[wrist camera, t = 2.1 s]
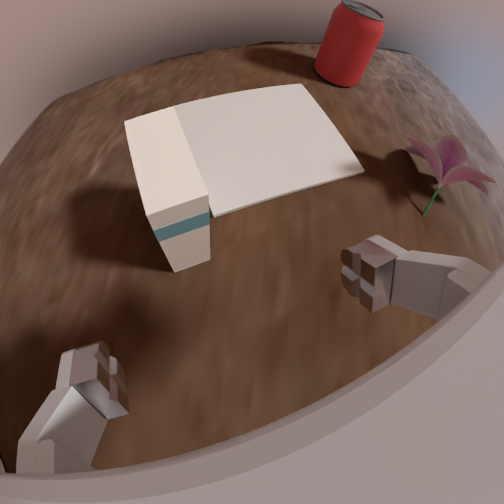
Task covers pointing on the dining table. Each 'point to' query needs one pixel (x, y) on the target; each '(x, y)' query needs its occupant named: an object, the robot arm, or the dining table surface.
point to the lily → (447, 162)
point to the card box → (170, 187)
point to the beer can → (349, 43)
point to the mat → (263, 145)
